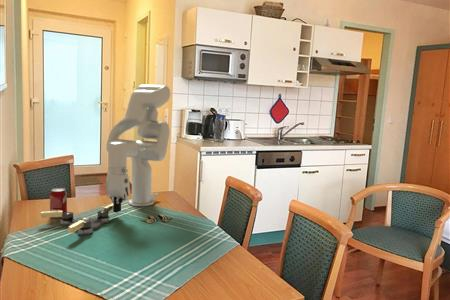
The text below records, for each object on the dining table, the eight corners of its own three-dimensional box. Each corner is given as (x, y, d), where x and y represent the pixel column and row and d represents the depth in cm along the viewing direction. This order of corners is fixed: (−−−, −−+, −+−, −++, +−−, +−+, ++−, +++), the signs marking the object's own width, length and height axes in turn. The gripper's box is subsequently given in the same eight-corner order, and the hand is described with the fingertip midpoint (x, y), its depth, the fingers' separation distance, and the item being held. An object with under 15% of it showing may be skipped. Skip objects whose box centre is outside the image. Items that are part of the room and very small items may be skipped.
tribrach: (96, 215, 170) (96, 207, 170) (121, 226, 158) (121, 218, 157) (58, 223, 157) (58, 215, 157) (82, 236, 145) (82, 227, 144)
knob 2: (104, 219, 159) (104, 210, 158) (95, 217, 160) (95, 209, 160) (120, 210, 171) (120, 202, 171) (112, 209, 172) (112, 201, 172)
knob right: (73, 217, 160) (73, 208, 159) (73, 220, 156) (73, 211, 155) (40, 219, 156) (39, 210, 155) (38, 222, 152) (38, 213, 151)
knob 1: (83, 225, 151) (83, 216, 150) (93, 226, 150) (93, 217, 149) (63, 236, 138) (63, 227, 138) (74, 237, 137) (74, 228, 137)
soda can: (60, 219, 163) (60, 192, 161) (46, 217, 164) (46, 190, 162) (70, 214, 169) (69, 188, 168) (56, 213, 171) (56, 187, 169)
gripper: (136, 171, 164) (136, 212, 167) (110, 167, 171) (110, 206, 173) (124, 174, 158) (124, 217, 160) (97, 169, 164) (98, 210, 167)
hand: (117, 211), depth 167 cm, fingers closed
